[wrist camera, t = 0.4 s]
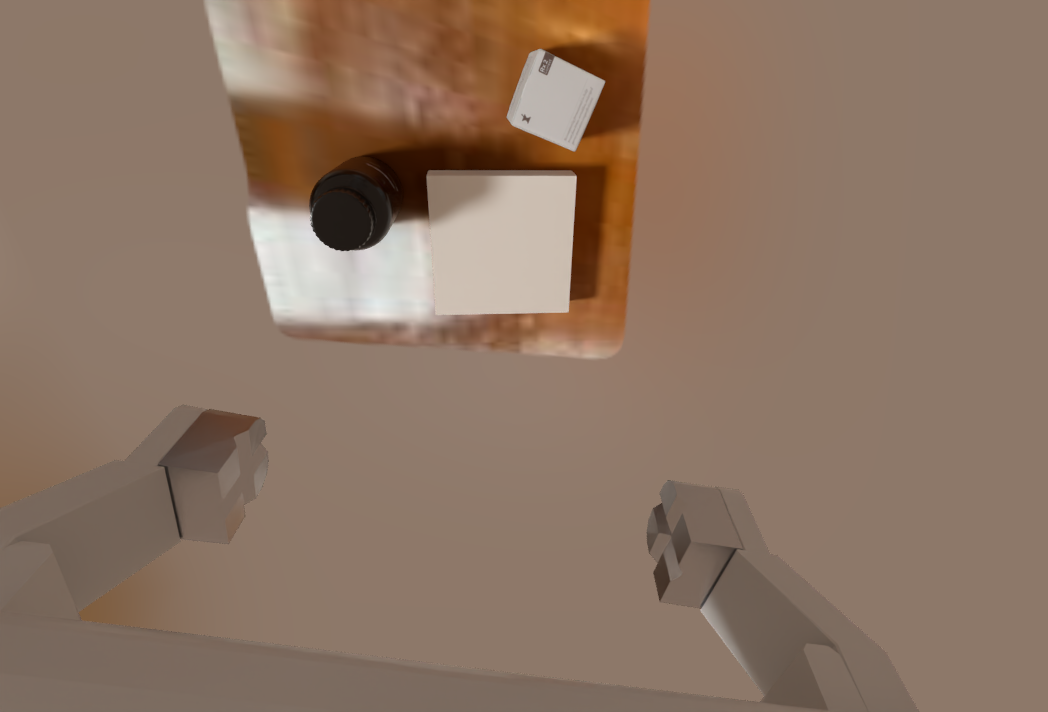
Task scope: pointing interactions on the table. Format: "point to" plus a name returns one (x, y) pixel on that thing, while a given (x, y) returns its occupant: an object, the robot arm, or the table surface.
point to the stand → (501, 240)
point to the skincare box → (554, 99)
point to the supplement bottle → (355, 204)
